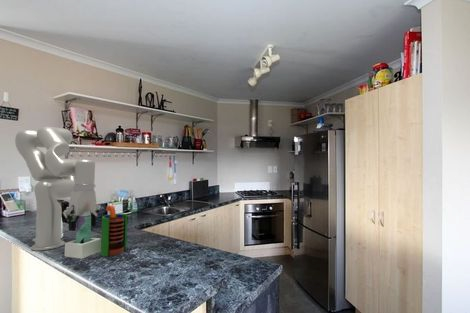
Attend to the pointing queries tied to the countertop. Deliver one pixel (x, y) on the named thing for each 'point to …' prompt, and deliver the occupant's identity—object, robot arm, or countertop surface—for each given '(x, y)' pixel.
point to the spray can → (83, 228)
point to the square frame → (82, 248)
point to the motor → (113, 233)
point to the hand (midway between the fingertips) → (82, 227)
